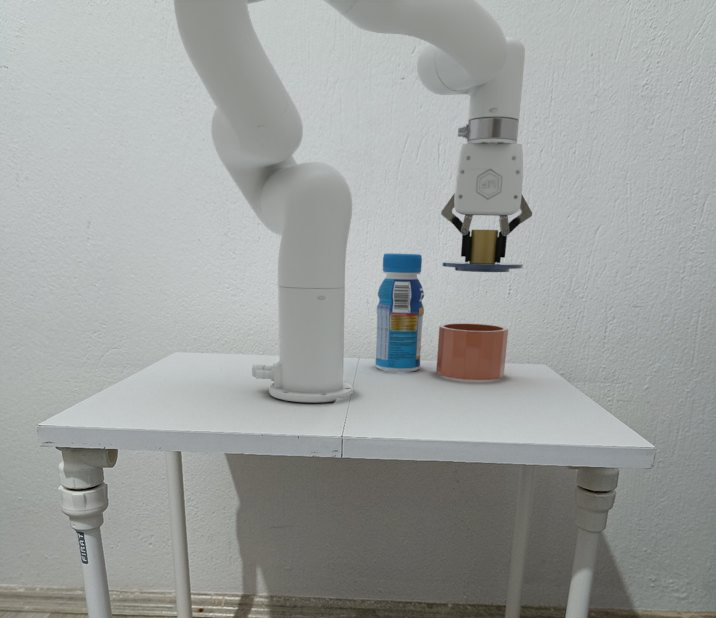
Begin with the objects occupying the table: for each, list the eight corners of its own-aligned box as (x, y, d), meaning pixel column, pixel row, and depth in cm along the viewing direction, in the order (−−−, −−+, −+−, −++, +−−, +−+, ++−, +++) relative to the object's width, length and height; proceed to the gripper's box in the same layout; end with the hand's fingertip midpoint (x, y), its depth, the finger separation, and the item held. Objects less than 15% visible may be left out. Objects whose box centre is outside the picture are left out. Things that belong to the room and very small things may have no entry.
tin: (435, 381, 112) (438, 329, 109) (437, 368, 123) (440, 322, 120) (505, 384, 110) (510, 332, 107) (500, 372, 121) (505, 324, 118)
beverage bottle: (365, 368, 121) (368, 253, 115) (393, 363, 127) (398, 253, 121) (402, 374, 116) (407, 254, 109) (429, 369, 122) (436, 254, 115)
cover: (440, 271, 102) (443, 228, 100) (442, 268, 114) (445, 229, 112) (525, 273, 100) (529, 230, 98) (518, 270, 112) (522, 231, 110)
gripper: (435, 131, 98) (428, 261, 104) (552, 131, 96) (538, 264, 102) (437, 138, 105) (430, 260, 111) (546, 139, 103) (533, 262, 109)
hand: (482, 260), depth 106 cm, fingers closed on cover, 4 cm apart
